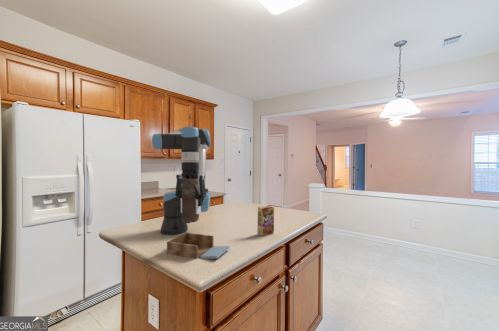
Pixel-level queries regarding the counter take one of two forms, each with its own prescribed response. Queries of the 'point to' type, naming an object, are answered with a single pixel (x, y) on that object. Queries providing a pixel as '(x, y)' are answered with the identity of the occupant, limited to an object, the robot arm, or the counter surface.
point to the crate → (190, 245)
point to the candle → (189, 200)
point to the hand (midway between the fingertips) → (190, 212)
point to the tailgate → (214, 252)
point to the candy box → (265, 220)
